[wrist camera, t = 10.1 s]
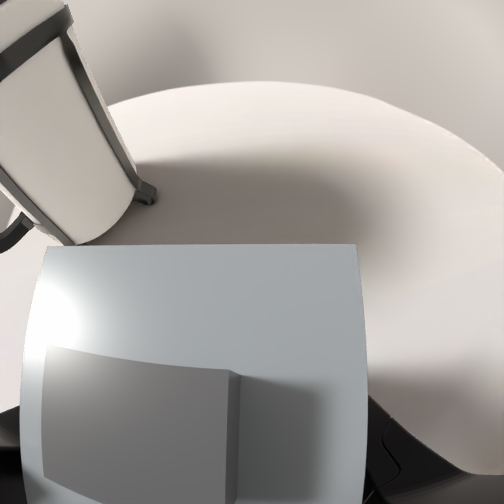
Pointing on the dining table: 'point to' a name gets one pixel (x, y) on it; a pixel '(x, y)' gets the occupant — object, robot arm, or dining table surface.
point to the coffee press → (57, 132)
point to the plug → (195, 376)
